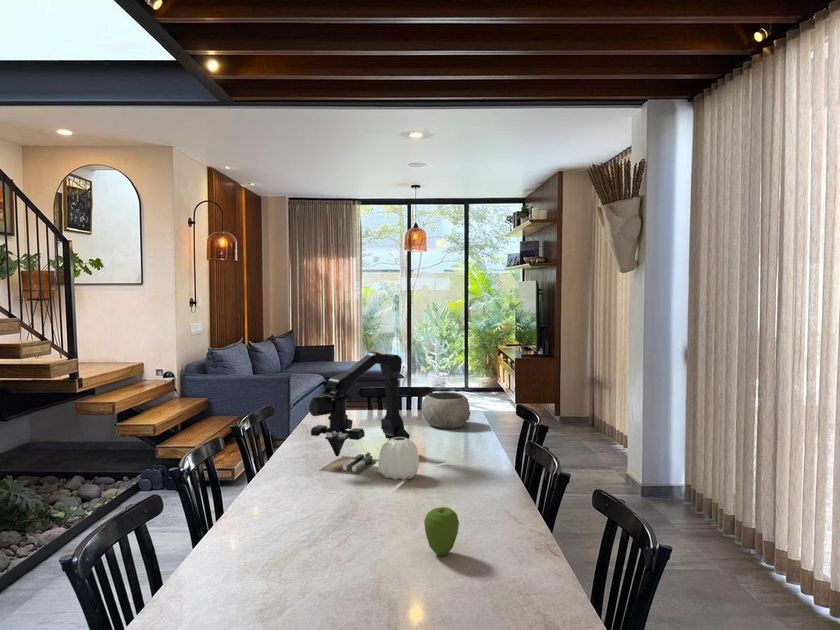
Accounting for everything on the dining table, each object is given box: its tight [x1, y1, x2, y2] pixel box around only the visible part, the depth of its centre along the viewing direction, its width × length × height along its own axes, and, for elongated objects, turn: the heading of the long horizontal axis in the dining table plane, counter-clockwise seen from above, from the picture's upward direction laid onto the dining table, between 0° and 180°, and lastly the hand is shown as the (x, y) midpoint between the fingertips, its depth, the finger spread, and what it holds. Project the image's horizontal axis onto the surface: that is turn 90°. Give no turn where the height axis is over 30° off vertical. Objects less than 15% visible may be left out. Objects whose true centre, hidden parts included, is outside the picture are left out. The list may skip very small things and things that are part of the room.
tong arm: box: [343, 453, 365, 471], centre depth 214 cm, size 2×14×2 cm, turn 161°
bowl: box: [421, 391, 471, 430], centre depth 286 cm, size 23×23×15 cm
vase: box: [378, 437, 420, 481], centre depth 205 cm, size 14×14×13 cm
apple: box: [423, 506, 460, 557], centre depth 144 cm, size 9×8×12 cm
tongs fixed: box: [352, 451, 373, 473], centre depth 216 cm, size 4×18×3 cm, turn 163°
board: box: [318, 455, 379, 476], centre depth 216 cm, size 15×20×1 cm
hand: (337, 456), depth 214 cm, fingers closed
